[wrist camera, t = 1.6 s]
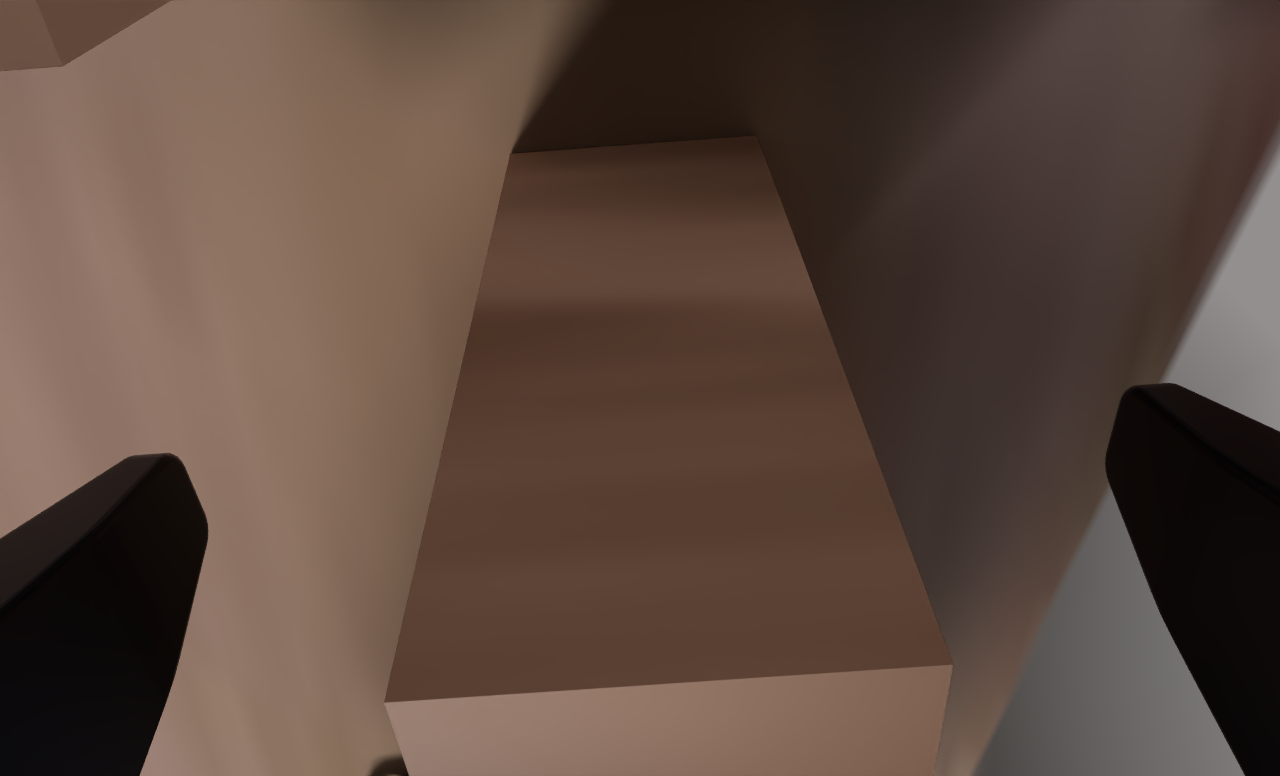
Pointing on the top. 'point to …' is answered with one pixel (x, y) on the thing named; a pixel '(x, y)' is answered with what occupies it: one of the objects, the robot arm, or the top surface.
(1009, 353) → the top surface
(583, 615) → the brown wooden block
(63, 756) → the robot arm
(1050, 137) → the top surface
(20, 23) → the board
